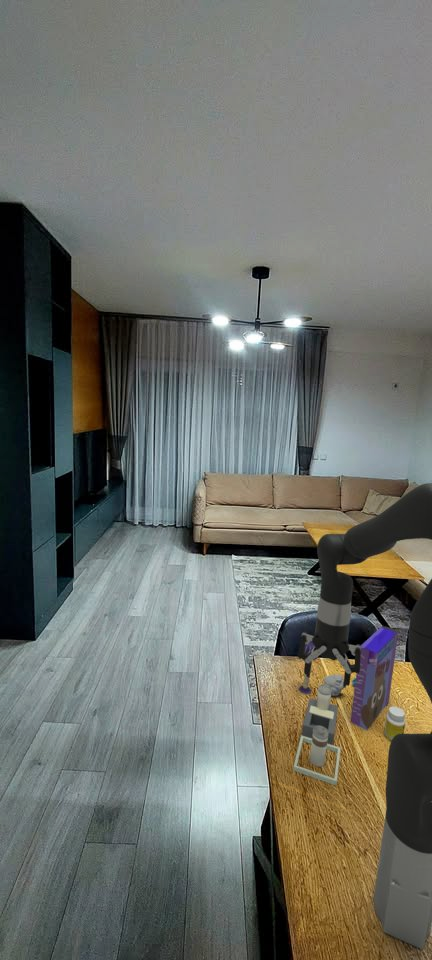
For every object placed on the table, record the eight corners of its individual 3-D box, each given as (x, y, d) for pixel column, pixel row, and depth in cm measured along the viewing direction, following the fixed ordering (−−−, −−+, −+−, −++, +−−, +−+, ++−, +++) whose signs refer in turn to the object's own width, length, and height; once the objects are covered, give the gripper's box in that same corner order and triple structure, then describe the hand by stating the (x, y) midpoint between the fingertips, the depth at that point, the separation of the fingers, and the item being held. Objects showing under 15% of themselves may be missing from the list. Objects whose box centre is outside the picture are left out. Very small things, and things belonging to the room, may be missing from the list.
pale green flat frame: (335, 789, 97) (336, 781, 97) (292, 773, 101) (293, 766, 101) (339, 754, 108) (340, 747, 107) (300, 742, 111) (301, 735, 111)
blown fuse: (323, 770, 102) (327, 738, 101) (307, 764, 103) (311, 733, 102) (325, 759, 105) (329, 728, 104) (310, 753, 107) (314, 723, 105)
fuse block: (332, 748, 110) (336, 715, 108) (301, 738, 113) (305, 706, 111) (336, 718, 121) (340, 688, 119) (308, 710, 124) (311, 680, 122)
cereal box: (366, 734, 116) (377, 653, 112) (350, 725, 119) (359, 646, 115) (388, 704, 129) (398, 630, 125) (372, 696, 132) (382, 625, 128)
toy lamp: (313, 690, 133) (319, 641, 131) (313, 699, 128) (318, 649, 126) (298, 687, 134) (303, 638, 132) (297, 696, 130) (302, 646, 127)
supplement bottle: (404, 747, 112) (408, 719, 110) (385, 744, 112) (389, 715, 111) (400, 734, 116) (404, 707, 115) (382, 731, 117) (385, 703, 116)
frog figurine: (342, 704, 127) (345, 683, 126) (319, 696, 130) (321, 676, 129) (346, 693, 132) (348, 673, 131) (323, 686, 136) (326, 666, 135)
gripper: (300, 616, 98) (293, 681, 100) (365, 631, 93) (356, 698, 95) (305, 604, 105) (299, 664, 107) (365, 617, 100) (358, 680, 102)
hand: (326, 680), depth 101 cm, fingers open, 8 cm apart
